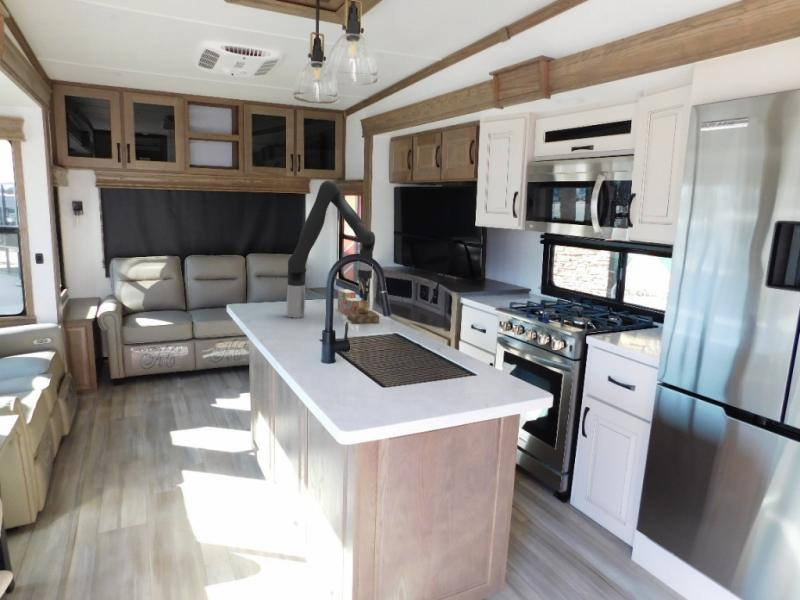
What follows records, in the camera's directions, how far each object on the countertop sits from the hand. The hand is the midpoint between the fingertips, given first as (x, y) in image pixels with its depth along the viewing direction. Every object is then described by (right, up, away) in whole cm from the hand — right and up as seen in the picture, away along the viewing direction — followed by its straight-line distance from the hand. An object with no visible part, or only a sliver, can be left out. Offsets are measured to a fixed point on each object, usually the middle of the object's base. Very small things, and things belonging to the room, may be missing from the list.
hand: (363, 299), depth 290 cm
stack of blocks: (-10, -8, +20) cm, 24 cm away
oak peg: (0, -11, +2) cm, 11 cm away
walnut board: (0, -11, +2) cm, 12 cm away
